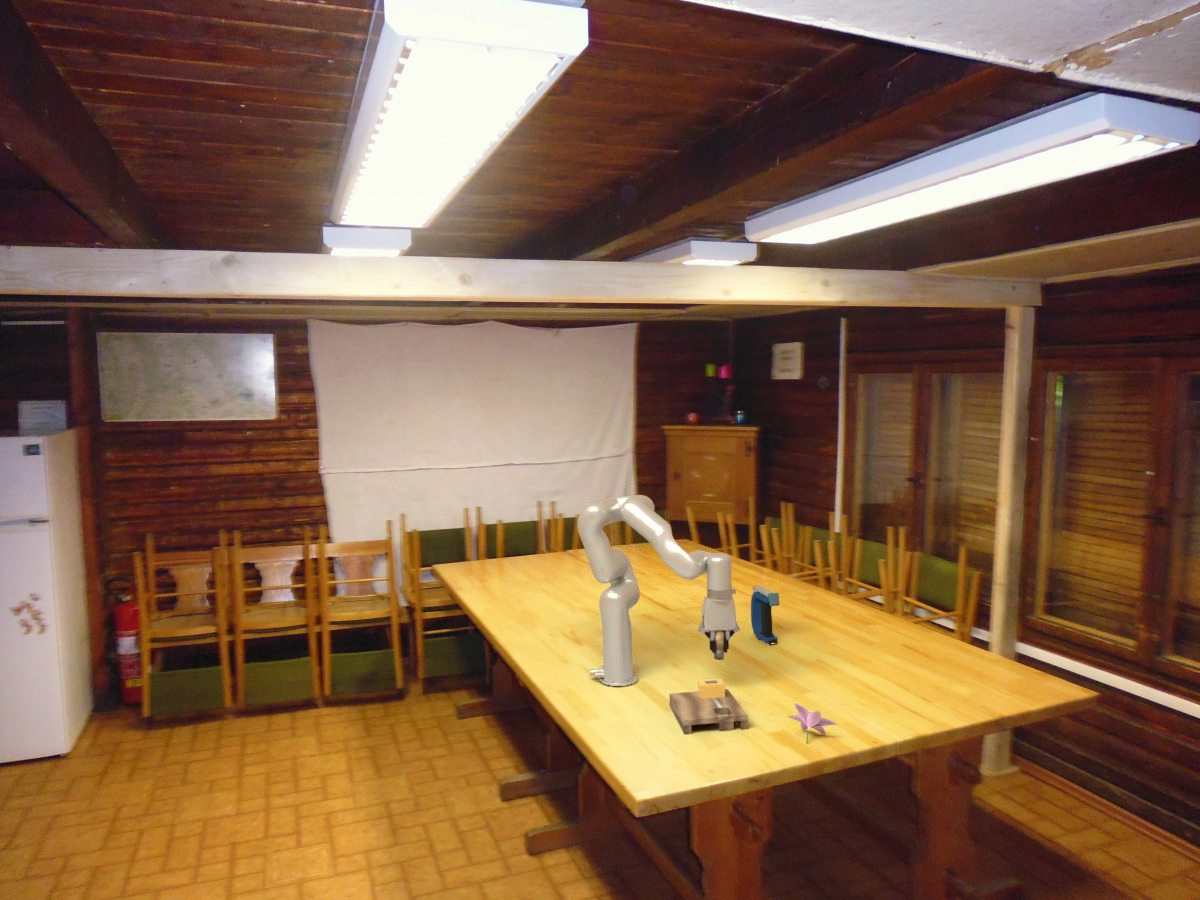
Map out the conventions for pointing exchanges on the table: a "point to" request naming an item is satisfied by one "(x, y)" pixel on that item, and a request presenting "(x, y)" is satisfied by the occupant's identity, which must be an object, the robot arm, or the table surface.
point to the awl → (719, 645)
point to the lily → (811, 720)
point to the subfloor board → (707, 711)
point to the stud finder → (711, 688)
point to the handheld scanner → (763, 613)
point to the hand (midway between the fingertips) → (719, 651)
